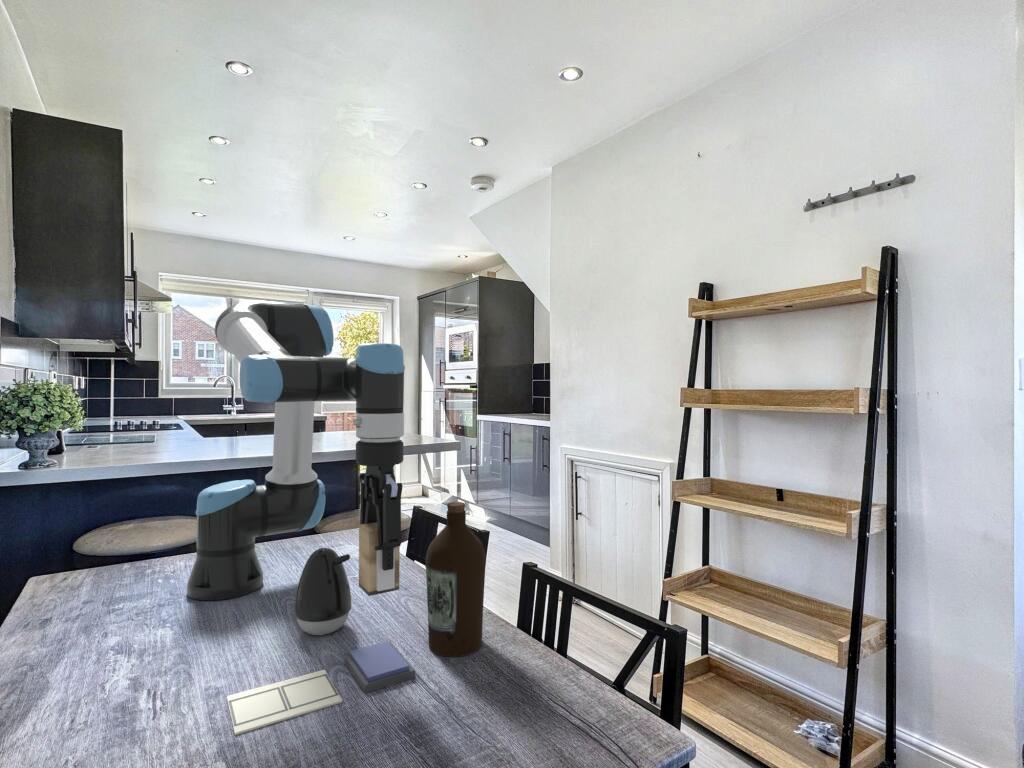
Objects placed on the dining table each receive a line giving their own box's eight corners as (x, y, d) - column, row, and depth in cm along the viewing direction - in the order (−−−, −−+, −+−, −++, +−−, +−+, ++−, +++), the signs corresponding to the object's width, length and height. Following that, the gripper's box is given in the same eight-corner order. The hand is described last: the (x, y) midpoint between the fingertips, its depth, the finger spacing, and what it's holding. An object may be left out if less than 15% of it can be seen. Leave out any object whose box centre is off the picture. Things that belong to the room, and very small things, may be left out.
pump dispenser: (335, 644, 97) (335, 558, 97) (282, 638, 99) (282, 554, 99) (362, 620, 107) (362, 542, 107) (313, 615, 109) (314, 538, 109)
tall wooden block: (388, 580, 92) (388, 520, 92) (399, 589, 88) (399, 527, 88) (358, 586, 89) (359, 524, 89) (368, 596, 85) (369, 531, 85)
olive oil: (453, 625, 105) (454, 495, 105) (497, 641, 99) (498, 502, 98) (412, 647, 96) (413, 504, 96) (457, 665, 90) (458, 513, 90)
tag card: (226, 698, 80) (226, 695, 80) (324, 671, 88) (324, 669, 88) (234, 735, 72) (234, 732, 72) (342, 702, 80) (342, 699, 80)
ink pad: (343, 661, 91) (343, 650, 91) (390, 648, 95) (390, 638, 95) (365, 693, 82) (365, 681, 82) (415, 677, 86) (415, 666, 86)
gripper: (340, 435, 94) (340, 571, 94) (376, 446, 79) (375, 607, 79) (382, 433, 98) (382, 563, 98) (424, 443, 83) (423, 596, 83)
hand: (379, 583), depth 89 cm, fingers closed on tall wooden block, 5 cm apart
